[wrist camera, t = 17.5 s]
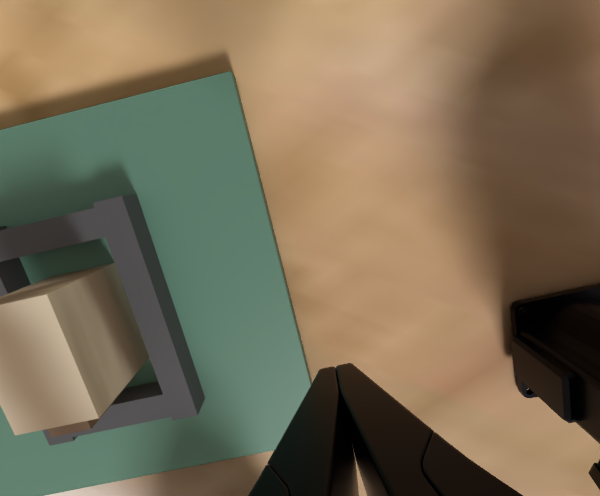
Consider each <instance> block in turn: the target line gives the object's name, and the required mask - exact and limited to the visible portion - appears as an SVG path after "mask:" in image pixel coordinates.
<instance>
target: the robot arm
mask: <svg viewBox="0 0 600 496" xmlns="http://www.w3.org/2000/svg"><path fill="white" fill-rule="evenodd" d="M522 307H523V310H522V311H521V312H519V310H520V308H522ZM510 312H511V322H512V332H513V337H512V340H511V344H512V354H513V364H514V373H515V375H516V376H517V383H518V390H519V392H520V393H521V394H522V395H523V396H524V397H526V398H533V397H539V398H540V399H541V400H543V401H544V402H545V403H546V404H547V405H548V406H549V407H550V408H551V409H552V410H553V411H554V412H556V413H557V414H558V415H559V416H560V417H561V418H562V419H563V420H565V421H567V422H568V423H573V422H576V423H577V424H578V425H579V426H581V427H582V428H583V429H584V430H585V431H586V432H587V433H588V434H590V435H591V436H592V437H593V438H594V439H595V440H596V441H597V442H599V443H600V284H595V285H591V286H586V287H581V288H576V289H572V290H567V291H562V292H557V293H553V294H548V295H543V296H539V297H534V298H529V299H524V300H520V301H516V302H514V303H513V304H512V306H511V309H510ZM528 388H529V389H528ZM527 389H528V390H527ZM526 390H527V391H526ZM353 449H354V450H353ZM354 453H355V456H354ZM355 458H356V462H357V465H358V468H359V471H360V474H361V477H362V480H363V483H364V487H365V490H366V493H367V496H523V495H521V494H520V493H518V492H517V491H515V490H514V489H512V488H511V487H509V486H508V485H506V484H505V483H503V482H502V481H500V480H499V479H497V478H496V477H494V476H493V475H491V474H490V473H489V472H487V471H486V470H484V469H483V468H481V467H480V466H478V465H477V464H476V463H474V462H473V461H471V460H470V459H468V458H467V457H466V456H465V455H463V454H462V453H461V452H459V451H458V450H457V449H456V448H454V447H453V446H452V445H450V444H449V443H448V442H447V441H445V440H444V439H443V438H442V437H441V436H439V435H438V434H437V433H435V432H434V431H433V430H432V429H431V428H429V427H428V426H427V425H426V424H425V423H423V422H422V421H421V420H420V419H419V418H417V417H416V416H415V415H414V414H412V413H411V412H410V411H409V410H408V409H406V408H405V407H404V406H403V405H402V404H400V403H399V402H398V401H397V400H395V399H394V398H393V397H392V396H391V395H389V394H388V393H387V392H386V391H385V390H383V389H382V388H381V387H380V386H378V385H377V384H376V383H375V382H374V381H372V380H371V379H370V378H369V377H368V376H366V375H365V374H364V373H363V372H361V371H360V370H359V369H358V368H357V367H355V366H354V365H353V364H351V363H347V364H342V365H338V366H337V367H336V368H335V367H328V368H323V369H320V370H319V372H318V374H317V375H316V377H315V379H314V381H313V383H312V384H311V386H310V388H309V390H308V391H307V393H306V395H305V397H304V399H303V400H302V402H301V404H300V406H299V408H298V409H297V411H296V413H295V415H294V417H293V418H292V420H291V422H290V424H289V425H288V427H287V429H286V431H285V433H284V434H283V436H282V438H281V440H280V442H279V443H278V445H277V447H276V449H275V451H274V452H273V454H272V456H271V458H270V459H269V461H268V465H266V466H265V468H264V470H263V472H262V473H261V475H260V477H259V479H258V481H257V482H256V484H255V486H254V487H253V489H252V491H251V492H250V494H249V496H359V493H358V482H357V471H356V462H355ZM589 474H590V476H591V477H592V479H593V480H594V482H595V483H596V485H597V486H598V488H599V489H600V460H599V461H598V463H594V464H593V466H592V467H591V469H590V471H589Z"/></svg>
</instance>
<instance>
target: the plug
mask: <svg viewBox="0 0 600 496" xmlns="http://www.w3.org/2000/svg"><path fill="white" fill-rule="evenodd" d="M148 359H149V355H148V352H147V349H146V347H145V344H144V341H143V338H142V336H141V333H140V330H139V328H138V325H137V322H136V319H135V317H134V314H133V311H132V309H131V306H130V303H129V300H128V298H127V295H126V292H125V289H124V287H123V284H122V281H121V279H120V276H119V273H118V270H117V268H116V265H115V263H111V264H106V265H102V266H97V267H93V268H89V269H84V270H80V271H75V272H71V273H67V274H62V275H58V276H54V277H49V278H46V279H44V280H41V281H39V282H36V283H34V284H31V285H29V286H26V287H24V288H21V289H19V290H16V291H14V292H11V293H9V294H6V295H4V296H1V297H0V406H1V408H2V410H3V412H4V414H5V416H6V418H7V420H8V422H9V424H10V426H11V428H12V430H13V432H14V434H15V435H20V434H25V433H30V432H35V431H40V430H45V429H47V430H48V432H49V434H50V436H51V437H55V436H60V435H65V434H70V433H75V432H80V431H85V430H90V429H92V428H93V426H94V425H95V424H96V423H97V421H98V420H99V419H100V418H101V417H102V415H103V414H104V413H105V412H106V411H107V409H108V408H109V407H110V406H111V405H112V403H113V402H114V401H115V400H116V398H117V397H118V396H119V395H120V394H121V392H122V391H123V390H124V389H125V388H126V386H127V385H128V384H129V383H130V381H131V380H132V379H133V378H134V375H135V374H136V373H137V372H138V371H139V369H140V368H141V367H142V366H143V365H144V363H145V362H146V361H147V360H148Z"/></svg>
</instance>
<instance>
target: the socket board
mask: <svg viewBox="0 0 600 496" xmlns="http://www.w3.org/2000/svg"><path fill="white" fill-rule="evenodd" d="M111 263H115V265H116V268H117V270H118V273H119V276H120V279H121V281H122V284H123V287H124V289H125V292H126V295H127V298H128V300H129V303H130V306H131V309H132V311H133V314H134V317H135V319H136V322H137V325H138V328H139V330H140V333H141V336H142V338H143V341H144V344H145V347H146V349H147V352H148V355H149V359H148V360H147V361H146V362H145V363H144V365H143V366H142V367H141V368H140V369H139V371H138V372H137V373H136V374H135V375H134V378H133V379H132V380H131V381H130V383H129V384H128V385H127V386H126V388H125V389H124V390H123V391H122V392H121V394H120V395H119V396H118V397H117V398H116V400H115V401H114V402H113V403H112V405H111V406H110V407H109V408H108V409H107V411H106V412H105V413H104V414H103V415H102V417H101V418H100V419H99V420H98V421H97V423H96V424H95V425H94V426H93V428H92V429H90V430H85V431H80V432H75V433H70V434H65V435H60V436H55V437H51V436H50V434H49V432H48V430H47V429H45V430H40V431H35V432H30V433H25V434H20V435H15V434H14V432H13V430H12V428H11V426H10V424H9V422H8V420H7V418H6V416H5V414H4V412H3V410H2V408H1V406H0V496H44V495H49V494H54V493H59V492H64V491H69V490H74V489H79V488H84V487H90V486H95V485H100V484H105V483H110V482H115V481H120V480H125V479H130V478H135V477H140V476H145V475H151V474H156V473H161V472H166V471H171V470H176V469H181V468H186V467H191V466H196V465H201V464H206V463H212V462H217V461H222V460H227V459H232V458H237V457H242V456H247V455H252V454H257V453H262V452H267V451H273V450H275V449H276V447H277V445H278V443H279V442H280V440H281V438H282V436H283V434H284V433H285V431H286V429H287V427H288V425H289V424H290V422H291V420H292V418H293V417H294V415H295V413H296V411H297V409H298V408H299V406H300V404H301V402H302V400H303V399H304V397H305V395H306V393H307V391H308V390H309V388H310V386H311V384H312V381H311V377H310V373H309V369H308V365H307V361H306V357H305V353H304V349H303V345H302V341H301V337H300V333H299V329H298V325H297V321H296V317H295V313H294V309H293V305H292V301H291V297H290V293H289V289H288V286H287V282H286V278H285V274H284V270H283V266H282V262H281V258H280V254H279V250H278V246H277V242H276V238H275V234H274V230H273V226H272V222H271V218H270V214H269V210H268V206H267V202H266V198H265V194H264V190H263V186H262V182H261V178H260V174H259V171H258V167H257V163H256V159H255V155H254V151H253V147H252V143H251V139H250V135H249V131H248V127H247V123H246V119H245V115H244V111H243V107H242V103H241V99H240V95H239V91H238V87H237V83H236V79H235V76H234V75H233V73H232V72H231V71H229V72H225V73H221V74H217V75H213V76H209V77H205V78H202V79H198V80H194V81H190V82H186V83H182V84H178V85H174V86H170V87H166V88H162V89H158V90H155V91H151V92H147V93H143V94H139V95H135V96H131V97H127V98H123V99H119V100H115V101H112V102H108V103H104V104H100V105H96V106H92V107H88V108H84V109H80V110H76V111H72V112H68V113H65V114H61V115H57V116H53V117H49V118H45V119H41V120H37V121H33V122H29V123H25V124H22V125H18V126H14V127H10V128H6V129H2V130H0V297H1V296H4V295H6V294H9V293H11V292H14V291H16V290H19V289H21V288H24V287H26V286H29V285H31V284H34V283H36V282H39V281H41V280H44V279H46V278H49V277H54V276H58V275H62V274H67V273H71V272H75V271H80V270H84V269H89V268H93V267H97V266H102V265H106V264H111Z"/></svg>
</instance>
